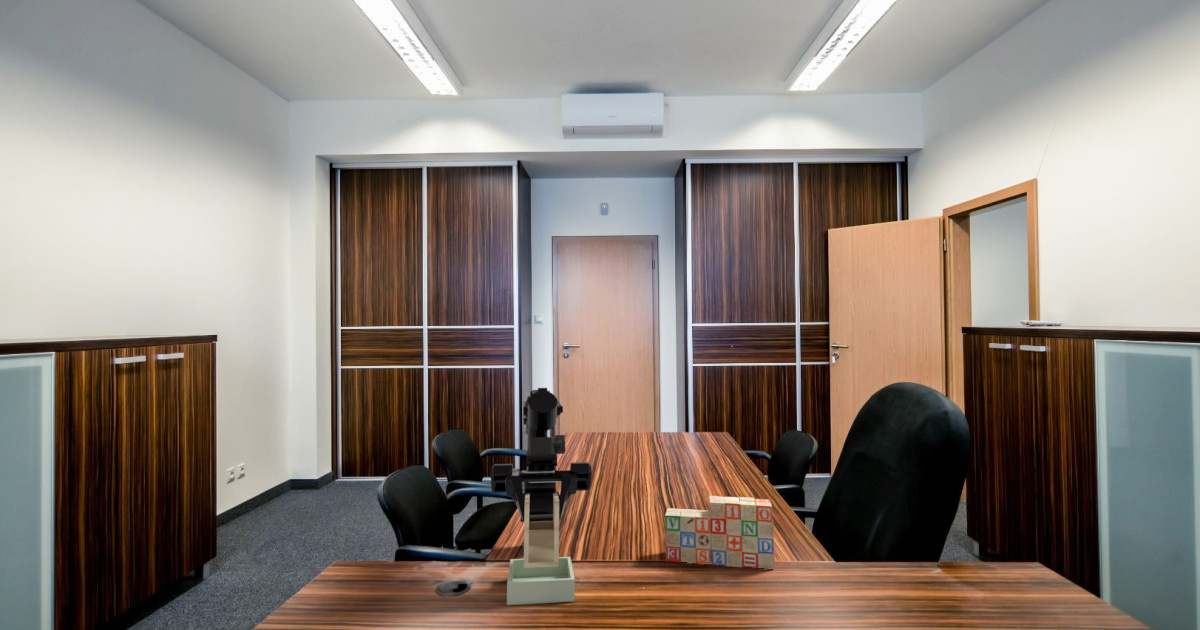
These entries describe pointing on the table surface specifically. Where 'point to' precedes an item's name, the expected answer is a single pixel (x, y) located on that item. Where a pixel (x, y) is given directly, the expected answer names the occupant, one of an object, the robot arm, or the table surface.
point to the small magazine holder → (541, 538)
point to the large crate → (540, 583)
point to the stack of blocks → (722, 533)
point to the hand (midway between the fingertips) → (541, 518)
